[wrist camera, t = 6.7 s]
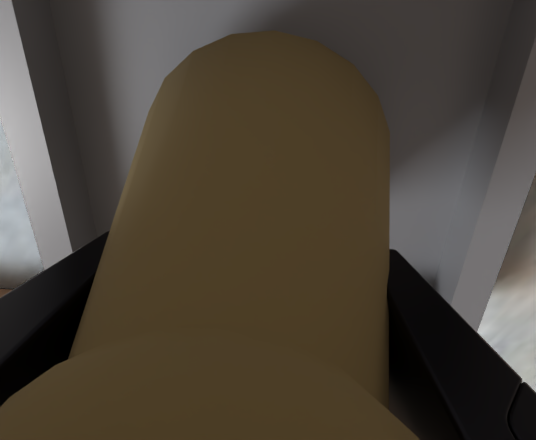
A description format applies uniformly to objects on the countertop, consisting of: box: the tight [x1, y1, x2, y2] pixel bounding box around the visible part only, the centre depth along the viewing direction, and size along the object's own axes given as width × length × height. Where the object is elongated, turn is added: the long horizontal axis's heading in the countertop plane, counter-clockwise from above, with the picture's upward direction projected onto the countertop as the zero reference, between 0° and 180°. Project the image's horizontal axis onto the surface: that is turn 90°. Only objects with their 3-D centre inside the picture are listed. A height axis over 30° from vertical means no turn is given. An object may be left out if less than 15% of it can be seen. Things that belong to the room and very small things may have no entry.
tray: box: [0, 0, 536, 332], centre depth 13 cm, size 13×13×2 cm
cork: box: [0, 30, 419, 440], centre depth 8 cm, size 6×6×11 cm
